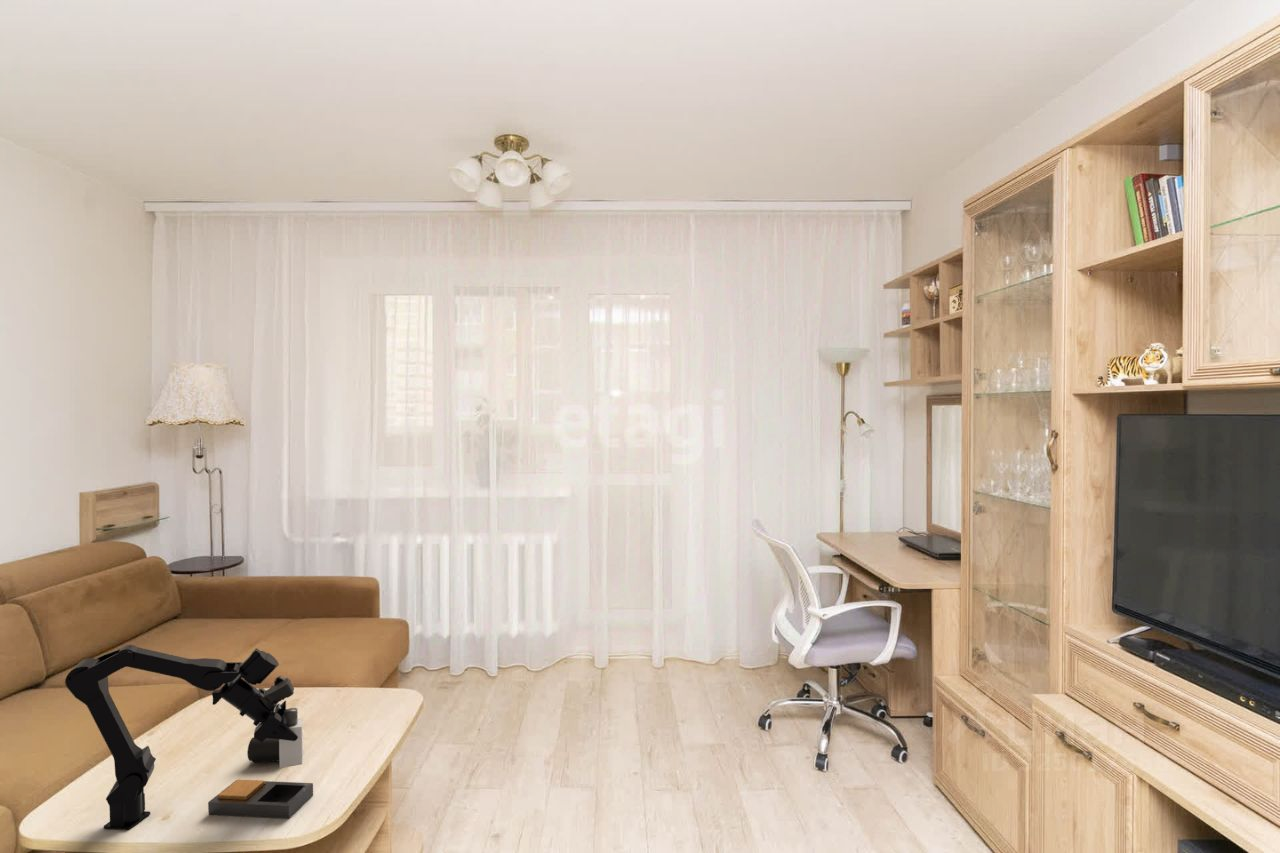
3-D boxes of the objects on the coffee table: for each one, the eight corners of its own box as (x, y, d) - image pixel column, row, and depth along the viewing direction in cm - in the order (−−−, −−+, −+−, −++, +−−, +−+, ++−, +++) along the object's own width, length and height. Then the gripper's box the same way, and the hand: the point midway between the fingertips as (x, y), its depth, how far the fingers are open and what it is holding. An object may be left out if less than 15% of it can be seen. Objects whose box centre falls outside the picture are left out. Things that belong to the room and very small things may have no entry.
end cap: (247, 768, 188) (246, 742, 187) (259, 755, 195) (258, 730, 195) (286, 765, 189) (285, 740, 188) (296, 752, 196) (296, 728, 195)
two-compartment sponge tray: (289, 818, 164) (288, 801, 164) (208, 814, 166) (208, 798, 166) (313, 795, 174) (312, 779, 174) (236, 791, 176) (236, 775, 176)
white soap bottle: (279, 768, 174) (278, 716, 173) (281, 759, 178) (280, 708, 178) (302, 764, 175) (301, 712, 175) (302, 755, 180) (302, 704, 180)
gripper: (269, 685, 166) (321, 723, 171) (275, 659, 183) (322, 694, 188) (231, 724, 163) (285, 761, 168) (241, 694, 180) (289, 729, 185)
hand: (297, 734), depth 177 cm, fingers closed on white soap bottle, 5 cm apart
